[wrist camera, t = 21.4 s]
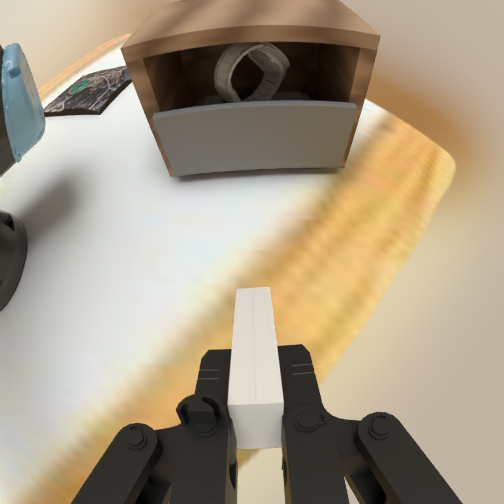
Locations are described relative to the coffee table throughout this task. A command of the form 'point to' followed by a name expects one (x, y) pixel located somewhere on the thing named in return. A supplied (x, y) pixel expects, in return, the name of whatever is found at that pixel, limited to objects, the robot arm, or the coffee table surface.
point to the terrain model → (90, 93)
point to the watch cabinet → (246, 71)
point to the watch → (261, 55)
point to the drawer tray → (256, 134)
